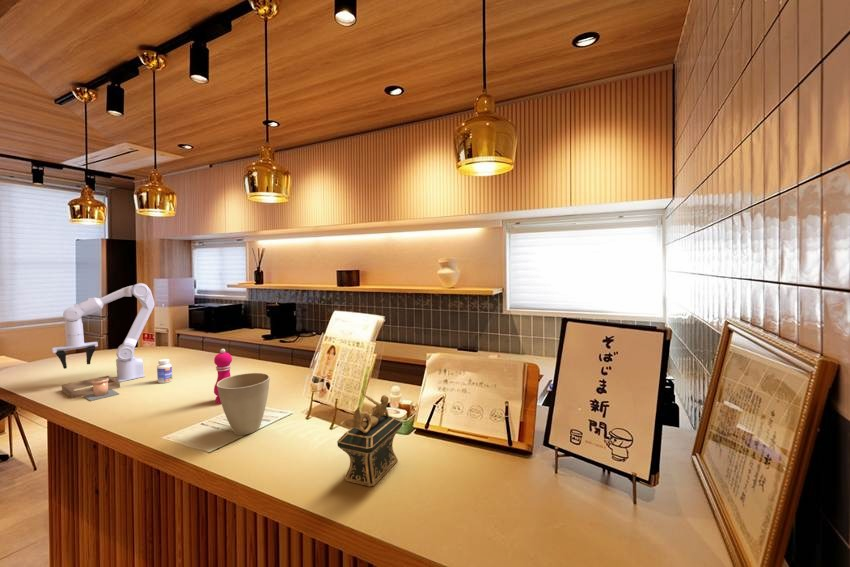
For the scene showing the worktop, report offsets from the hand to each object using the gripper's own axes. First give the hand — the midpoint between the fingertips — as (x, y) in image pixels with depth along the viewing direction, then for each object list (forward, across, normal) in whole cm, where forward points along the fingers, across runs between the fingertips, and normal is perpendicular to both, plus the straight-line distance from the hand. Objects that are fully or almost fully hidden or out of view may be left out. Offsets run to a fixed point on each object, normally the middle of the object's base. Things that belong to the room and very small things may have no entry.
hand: (76, 366), depth 165 cm
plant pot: (+9, -18, +103) cm, 105 cm away
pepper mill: (+9, -27, +72) cm, 77 cm away
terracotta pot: (+8, -2, +24) cm, 25 cm away
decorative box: (+9, -22, +152) cm, 154 cm away
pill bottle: (+9, -24, +25) cm, 36 cm away
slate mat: (+9, -2, +24) cm, 25 cm away
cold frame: (+9, -2, +10) cm, 14 cm away
